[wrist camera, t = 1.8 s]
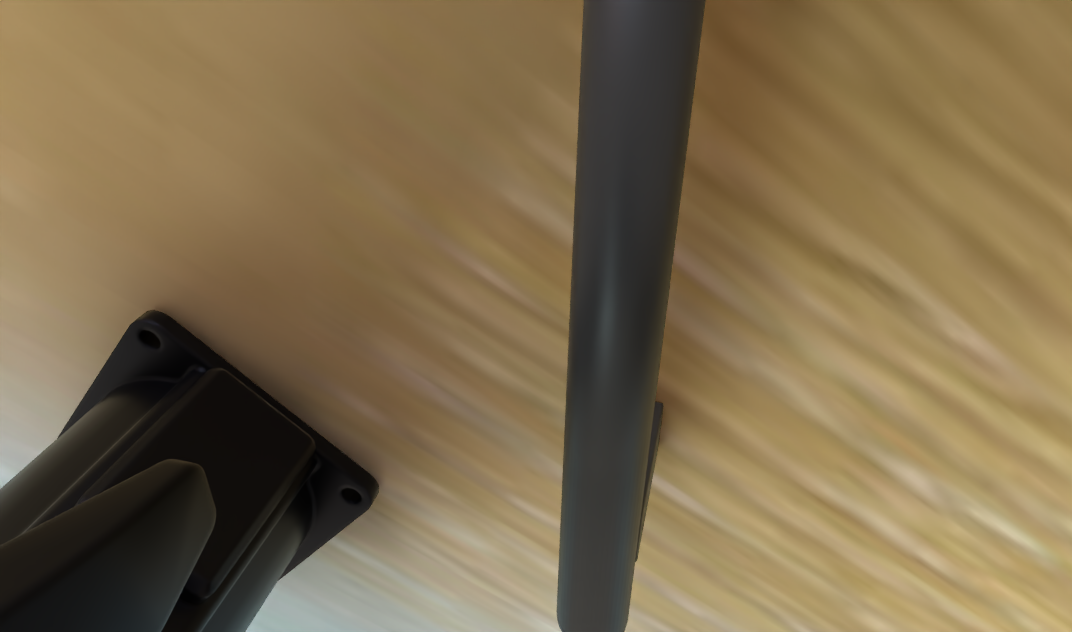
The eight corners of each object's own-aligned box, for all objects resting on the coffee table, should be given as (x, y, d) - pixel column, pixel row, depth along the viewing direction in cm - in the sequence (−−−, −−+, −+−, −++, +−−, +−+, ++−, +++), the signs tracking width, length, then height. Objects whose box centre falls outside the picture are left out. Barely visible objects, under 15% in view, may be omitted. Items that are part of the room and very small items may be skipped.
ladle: (735, 511, 16) (724, 699, 13) (516, 469, 17) (452, 633, 13) (1059, -956, 6) (1368, -1791, 3) (516, -869, 7) (298, -1429, 4)
